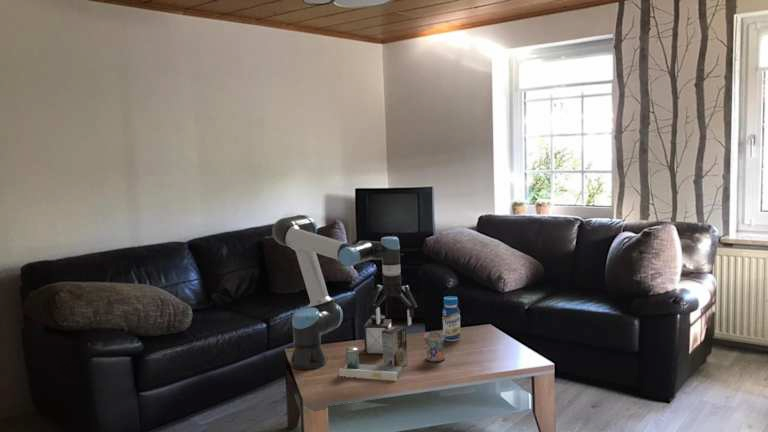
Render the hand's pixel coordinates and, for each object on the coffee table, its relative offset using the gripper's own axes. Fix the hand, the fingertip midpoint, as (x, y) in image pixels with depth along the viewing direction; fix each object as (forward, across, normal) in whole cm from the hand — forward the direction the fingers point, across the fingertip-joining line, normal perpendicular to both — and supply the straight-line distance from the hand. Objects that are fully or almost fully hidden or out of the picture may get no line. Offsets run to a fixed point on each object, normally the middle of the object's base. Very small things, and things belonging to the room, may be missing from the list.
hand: (393, 324), depth 256 cm
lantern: (+18, -13, +18) cm, 29 cm away
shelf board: (+18, -7, -10) cm, 22 cm away
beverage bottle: (+18, +16, +40) cm, 47 cm away
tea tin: (+16, -15, -10) cm, 24 cm away
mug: (+18, +14, +12) cm, 26 cm away
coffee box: (+18, 0, 0) cm, 18 cm away
